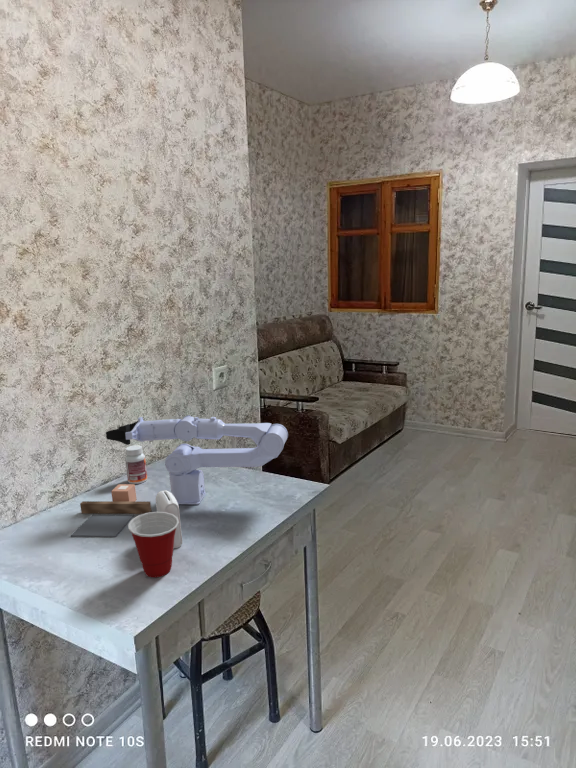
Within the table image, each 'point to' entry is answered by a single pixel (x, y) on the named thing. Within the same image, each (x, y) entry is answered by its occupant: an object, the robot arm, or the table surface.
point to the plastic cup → (154, 541)
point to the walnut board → (115, 507)
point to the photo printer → (170, 505)
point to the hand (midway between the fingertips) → (113, 432)
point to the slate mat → (103, 525)
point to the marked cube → (124, 492)
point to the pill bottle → (135, 464)
